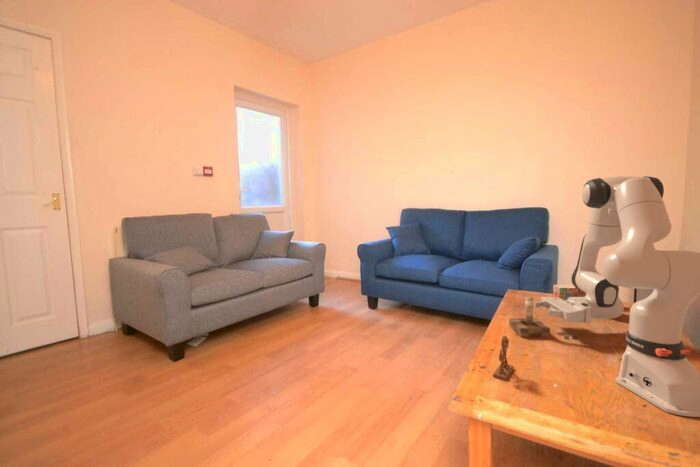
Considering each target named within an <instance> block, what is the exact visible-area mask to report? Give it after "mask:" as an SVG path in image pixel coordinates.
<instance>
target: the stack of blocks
mask: <svg viewBox="0 0 700 467" xmlns="http://www.w3.org/2000/svg"><path fill="white" fill-rule="evenodd" d="M552 288H553V289H552V297H557V298H561V299H563V300H565V301H566V300H567V299H568V298H569V297H585V296H586V293H585V292H583V291H581V290H579V289H577V288H576V287H575V286H574V285H573V284H572V283H571V284H553V287H552Z"/></svg>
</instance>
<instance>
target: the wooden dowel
mask: <svg viewBox="0 0 700 467" xmlns="http://www.w3.org/2000/svg"><path fill="white" fill-rule="evenodd" d="M524 299H525V301H524V303H525V304H524V306H525V307H524V318H525V325H533V318H534V298H533V297H530V296H526V297H524Z"/></svg>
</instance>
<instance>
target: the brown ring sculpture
mask: <svg viewBox="0 0 700 467" xmlns="http://www.w3.org/2000/svg"><path fill="white" fill-rule="evenodd" d="M509 344H510V342H509V338H508V337H507V335H503V336H502V338H501V348H500V351H499V353H498V354H499V355H498V361H499V362H500V364H499V365H498V366H497V368H496V369H495V370H494V372H493V373H492V377H493V378H495V379H499V380H502V381H505V382H506V381H508V378H509V377H510V375H511V374H512V373H513V371H514V368H515V367H514V366H513V365H510V364H508V358H507V351H508V348H509Z"/></svg>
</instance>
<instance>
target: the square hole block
mask: <svg viewBox="0 0 700 467" xmlns="http://www.w3.org/2000/svg"><path fill="white" fill-rule="evenodd" d="M508 321H509V322H508V326H510V327H511V328H512V329H511V328H510V327H509V328H510V329H511V330H512V331H513V332H515V333H516V334H517V336H519V337H520V338H550V336H551V328H550V326H548V325H546V324H545V323H544V322H542V321H541V320H539V319H538V318H535V317H533V325H525V317H522V318H521V317H517V318H516V317H515V318H514V317H513V318H512V317H510V318H508Z"/></svg>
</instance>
